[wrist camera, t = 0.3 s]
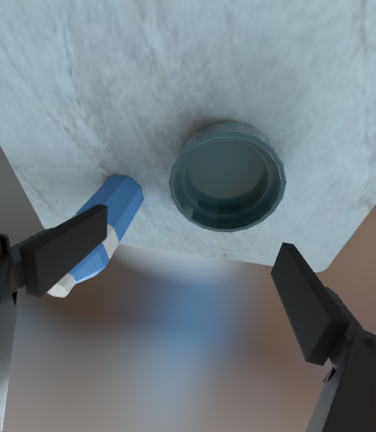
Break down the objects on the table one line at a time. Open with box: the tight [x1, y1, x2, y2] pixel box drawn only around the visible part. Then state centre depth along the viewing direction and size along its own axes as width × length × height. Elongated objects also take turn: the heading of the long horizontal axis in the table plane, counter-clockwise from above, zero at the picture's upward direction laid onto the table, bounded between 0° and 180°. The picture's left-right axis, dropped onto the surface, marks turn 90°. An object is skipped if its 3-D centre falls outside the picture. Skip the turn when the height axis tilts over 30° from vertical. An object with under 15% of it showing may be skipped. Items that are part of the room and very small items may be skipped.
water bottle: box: [47, 176, 143, 297], centre depth 37 cm, size 9×9×25 cm
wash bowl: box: [169, 122, 286, 232], centre depth 38 cm, size 20×20×6 cm
